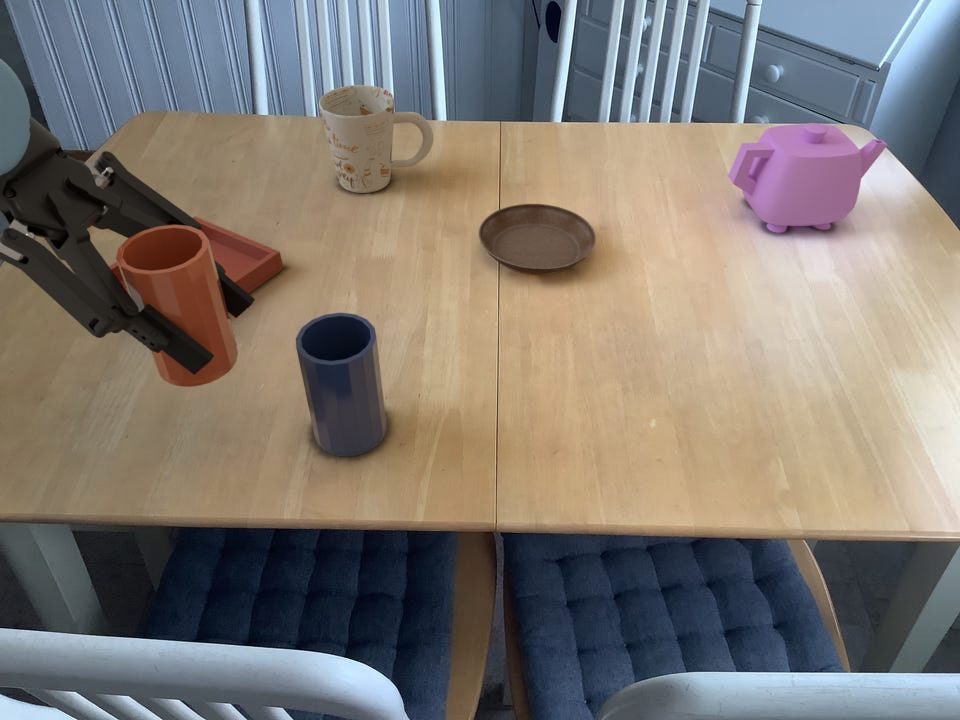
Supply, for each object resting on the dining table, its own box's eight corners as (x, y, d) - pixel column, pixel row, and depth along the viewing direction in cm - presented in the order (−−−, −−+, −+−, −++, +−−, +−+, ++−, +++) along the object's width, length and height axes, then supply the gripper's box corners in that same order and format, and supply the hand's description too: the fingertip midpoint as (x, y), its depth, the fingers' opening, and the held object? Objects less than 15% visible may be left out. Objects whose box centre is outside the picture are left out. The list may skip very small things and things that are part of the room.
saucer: (608, 235, 103) (611, 218, 101) (570, 298, 93) (572, 279, 91) (506, 210, 107) (506, 193, 105) (459, 267, 97) (458, 249, 95)
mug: (328, 167, 116) (317, 87, 108) (429, 158, 118) (426, 79, 110) (331, 201, 109) (320, 119, 101) (439, 191, 111) (437, 110, 103)
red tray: (176, 344, 86) (170, 326, 84) (90, 299, 92) (82, 281, 90) (283, 269, 97) (280, 251, 95) (199, 233, 103) (194, 216, 101)
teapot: (737, 243, 101) (761, 154, 93) (706, 194, 110) (725, 109, 102) (882, 233, 103) (919, 145, 95) (839, 186, 112) (869, 101, 104)
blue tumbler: (355, 467, 73) (340, 375, 65) (300, 437, 76) (279, 345, 68) (400, 422, 78) (391, 329, 69) (346, 395, 80) (331, 303, 72)
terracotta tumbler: (195, 397, 66) (157, 284, 58) (140, 367, 69) (97, 255, 61) (254, 352, 71) (226, 241, 63) (200, 326, 74) (167, 216, 66)
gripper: (47, 115, 68) (253, 289, 77) (-133, 236, 54) (145, 435, 62) (80, 60, 64) (295, 251, 72) (-106, 176, 49) (189, 398, 58)
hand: (225, 335), depth 67 cm, fingers closed on terracotta tumbler, 7 cm apart
